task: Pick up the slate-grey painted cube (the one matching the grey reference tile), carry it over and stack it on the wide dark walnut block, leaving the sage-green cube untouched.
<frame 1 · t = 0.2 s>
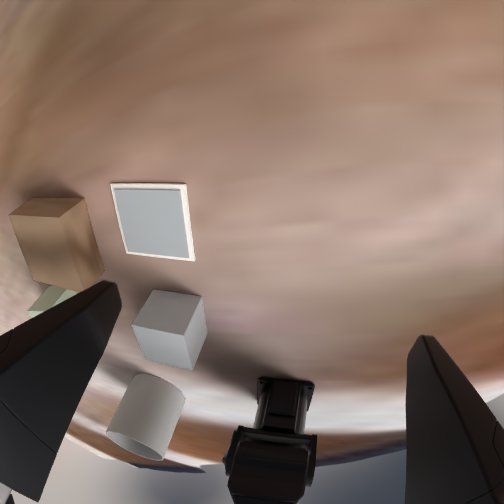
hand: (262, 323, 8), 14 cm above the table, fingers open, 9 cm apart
reference tile: (152, 221, 25), on the table
sage cube: (70, 300, 34), on the table
walnut base: (67, 232, 28), on the table
grey cube: (181, 311, 30), on the table
cup: (159, 389, 42), on the table
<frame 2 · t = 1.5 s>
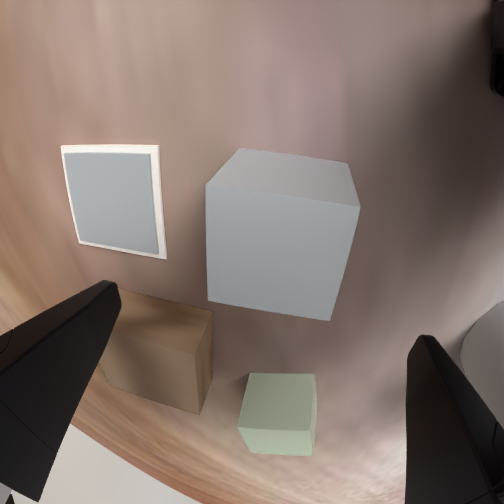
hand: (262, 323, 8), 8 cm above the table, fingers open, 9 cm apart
reference tile: (111, 200, 17), on the table
sage cube: (285, 390, 24), on the table
walnut base: (163, 333, 23), on the table
grey cube: (287, 203, 15), on the table
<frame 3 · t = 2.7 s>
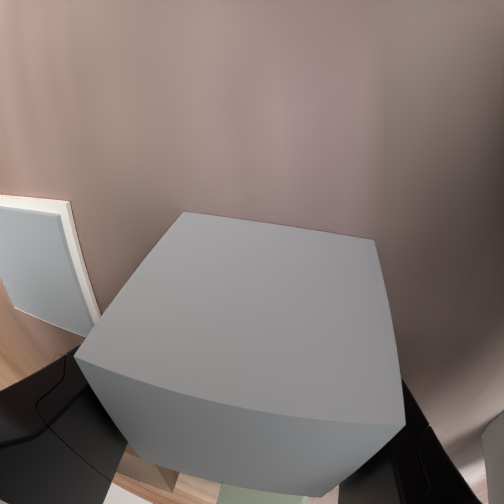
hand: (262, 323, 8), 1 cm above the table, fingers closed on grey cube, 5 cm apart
reference tile: (33, 267, 11), on the table
sage cube: (273, 466, 18), on the table
walnut base: (127, 406, 17), on the table
grey cube: (268, 298, 9), on the table, touching gripper
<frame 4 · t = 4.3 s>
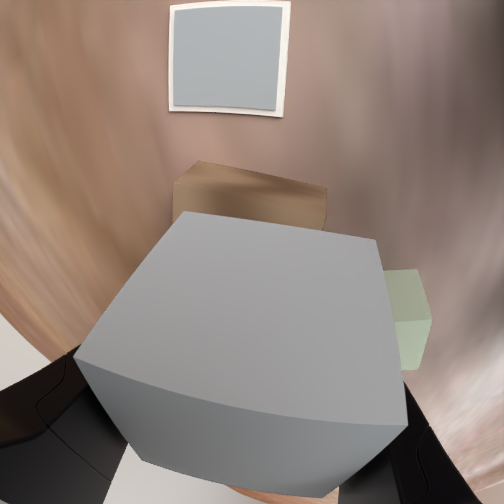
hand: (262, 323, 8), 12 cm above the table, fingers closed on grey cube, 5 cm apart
reference tile: (225, 55, 15), on the table
sage cube: (381, 297, 22), on the table
walnut base: (252, 227, 21), on the table
grey cube: (269, 298, 9), point 11 cm above the table, touching gripper
when the fingers open (6 cm above the table, at t = 5.9 s): grey cube drops 2 cm, resting on walnut base.
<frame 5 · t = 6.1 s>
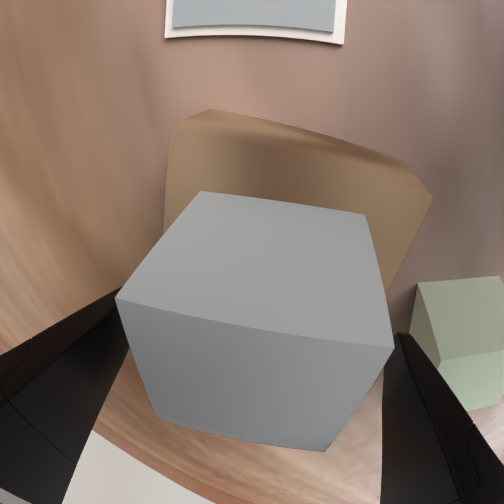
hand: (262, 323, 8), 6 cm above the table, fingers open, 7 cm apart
sage cube: (451, 313, 15), on the table
walnut base: (286, 216, 14), on the table, touching grey cube
grey cube: (273, 269, 11), point 4 cm above the table, touching walnut base
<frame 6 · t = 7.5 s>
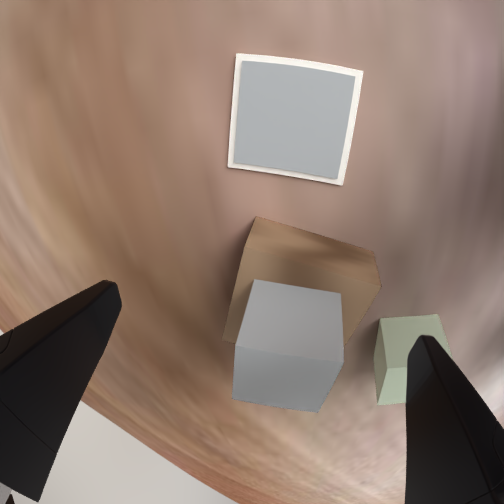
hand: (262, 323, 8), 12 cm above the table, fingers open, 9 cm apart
reference tile: (292, 117, 16), on the table
sage cube: (404, 337, 23), on the table
walnut base: (298, 278, 22), on the table, touching grey cube
grey cube: (291, 317, 19), point 4 cm above the table, touching walnut base
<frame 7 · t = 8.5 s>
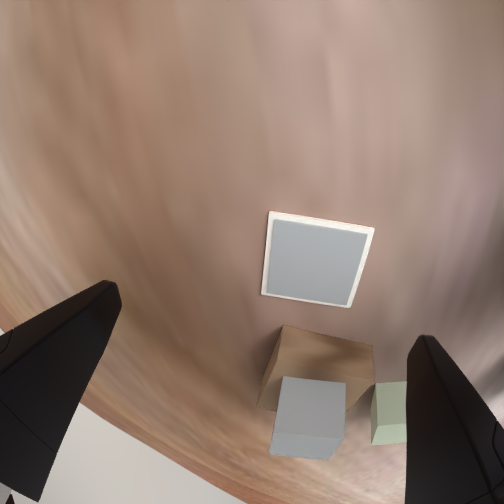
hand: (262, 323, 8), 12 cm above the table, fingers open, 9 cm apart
reference tile: (314, 263, 21), on the table
sage cube: (395, 393, 28), on the table
walnut base: (314, 360, 27), on the table, touching grey cube
grey cube: (309, 395, 24), point 4 cm above the table, touching walnut base
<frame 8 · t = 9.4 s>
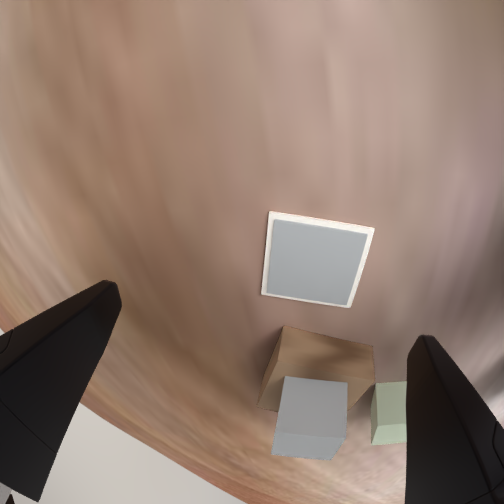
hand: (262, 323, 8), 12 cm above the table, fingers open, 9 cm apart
reference tile: (314, 263, 21), on the table
sage cube: (395, 393, 28), on the table
walnut base: (314, 361, 28), on the table, touching grey cube
grey cube: (311, 395, 24), point 4 cm above the table, touching walnut base
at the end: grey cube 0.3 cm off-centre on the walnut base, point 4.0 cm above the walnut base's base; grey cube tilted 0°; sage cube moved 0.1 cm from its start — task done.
